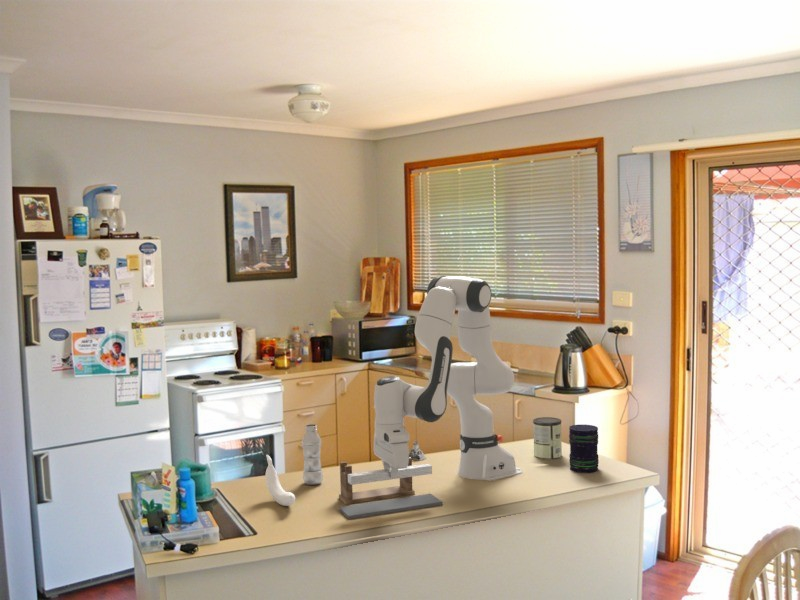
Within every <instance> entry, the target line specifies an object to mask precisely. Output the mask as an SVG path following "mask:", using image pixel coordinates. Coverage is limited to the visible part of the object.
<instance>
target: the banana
mask: <svg viewBox="0 0 800 600" xmlns="http://www.w3.org/2000/svg"><path fill="white" fill-rule="evenodd" d="M265 458H266V462H267V464H268V465H267V468H266V471H265V482H266V483H265V484H266V486H267V490H268V492H269V493H270V496H271V497H272V499H273V500H274V501H275V502H276V503H277V504H279V505H281V506H284V507H288V506H291V505H293V504H294V503H295V501H296V495H295V494H294V493H293V492H290V491H286V490H285V489H284V488H283V486H282V485H281V482H280V479H279V476H278V472H277V470H276V467H274V465H273V460H272V458H271V456H270V455H269V454H266V455H265Z"/></svg>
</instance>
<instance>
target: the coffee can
mask: <svg viewBox="0 0 800 600" xmlns="http://www.w3.org/2000/svg"><path fill="white" fill-rule="evenodd" d="M532 423H533V456H534V458H537V459H540V460H541V459H542V460H549V461H550V460H557V459H561V458H562V457H563V455H562V454H563V453H562V451H563V450H562V419H560V418H558V417H554V416H553V417H549V416H543V417H535V418H533V420H532Z"/></svg>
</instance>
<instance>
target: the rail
mask: <svg viewBox="0 0 800 600" xmlns="http://www.w3.org/2000/svg"><path fill="white" fill-rule="evenodd" d="M390 472H391V468H390V469H377V470H376V469H375V470H369V471H360V472H352V474H348V483H349V484H351V485H352V486H353V485H360V484H368V483H374V482H375V483H376V482H383V481H391V480H392V479H391V478H390ZM432 474H433V466H432V465H431V464H430V463H421V464H415V465H413V464H412V466H407V468H404V469H398V472H397V478H396V479H395V480H398V479H400V478H405V477H412V478H413V477H419V476H427V475H432Z"/></svg>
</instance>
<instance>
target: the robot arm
mask: <svg viewBox="0 0 800 600" xmlns="http://www.w3.org/2000/svg"><path fill="white" fill-rule="evenodd" d="M491 301H492V289H491V287H490V285H489V284H488V282H487V281H485V280H483V279H480V278H472V277H468V276H462V275H459V276H446V275H439V276H435V277H433V278H432V279H431V280H430V281H429V283H428V285H427V289H426V296H425V298H424V300H423V302H422V303H421V304H422V305H420V306H421V307H420V309H419V312H418V315H417V317H416V318H417V319H416V322H415V326H414V336H415V338H416V340H417V342H418V344H420V345H421V346H422V347H423V348H424V349H425V350H427V351H428V352H429V354H430V356H431V365H430V370H429V376H428V377H429V378H428V381H427V385H426V386H419V385H415V384H411V383H408V382H406V381H404V380H403V379H401V378H400V377H399V376H395V375H391V376H384V377H382V378H379V379H378V380H377V381H376V383H375V384H374V385H375V386H374V390H373V393H374V394H373V409H374V411H375V418H374V435H373V453H374V455H375V456H376V457H377V458H378V459H380V460H382V465H383V468H384V469H390V468H391V472H390V478H391V480H397V479H396V478H397V472H398V469H404V468H407V466H408V463H409V453H410V451H409V450H410V447H409V442H410V441H411V435H410V433H409V432H408V430H407V429H406V427H405V419H404V418H405V417H410V418H415V419H419V420H421V421H424V422H427V423H434V422H437V421H439V420H440V419H441V418H442V417H443V415H444V414H445V412H446V410H447V405H448V400H447V399H448V398H447V395H448V396H449V397H450V398H451V400H453V401H454V403H455V404H456V407H457V410H458V412H459V418H460V419H459V420H460V421H459V422H460V434H459V451H460V458H459V464H458V465H459V466H458V470H457V476H459V477H462V478H464V479H469V480H481V481H488V482H490V481H494V480H500V479H505V478H508V477H513V476H517V475H520V474H523V470H522V469H521V468H520V467H519V466H516V465H517V464H516V461H515V457H514V455H513V454H512V453H511V452H510V451H508V450H507V449H506V448H504V447H503V446H501V445H500V444H499V442H500V443H502V442H503V441H504V439H505V437H504V436H503V435H501V434H496V433H494V413H493V411H492V410H491V408H489V407H488V406H487V405H485V404H483V403H480V402H479V401H478V400H477V399H476V397H475V395H484V396H485V395H486V396H487V395H495V396H496V395H501V394H505V393H507V394H508V392H509V391H511V390H512V388H513V386H514V383H515V373H514V371H513V370H512V368H511V366H510V365H508V363H506V362H504V361H503V360H502V359H501V358H500V356H499V355H498V354H497V352H496V351H495V347H494V346H493V340H492V339H493V338H492V328H491V327H492V326H491V324H492V322H491V313H490V307H489V305H490V303H491ZM456 311H457V336H458V337H457V338H458V340H457V341H458V346H459V348H460V349H461V350H462V351H463V352H464V353H466V354H467V355H470V356H472V357H473V358H474V359H475V360H476V362H474V361H473V362H470V361H469V362H453V363H452V360H453V353H454V352H453V343H452V341H451V332H452V331H451V330H452V326H453V323H454V318H455V314H456V313H455V312H456Z"/></svg>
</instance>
